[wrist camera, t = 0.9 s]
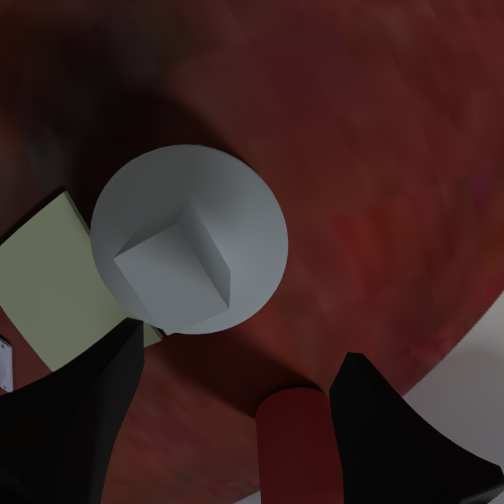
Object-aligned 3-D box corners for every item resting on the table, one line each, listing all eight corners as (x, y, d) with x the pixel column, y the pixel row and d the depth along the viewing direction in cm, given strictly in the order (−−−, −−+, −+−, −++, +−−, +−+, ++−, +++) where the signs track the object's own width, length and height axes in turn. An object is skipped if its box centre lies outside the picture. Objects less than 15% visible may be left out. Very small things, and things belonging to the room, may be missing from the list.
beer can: (261, 433, 27) (270, 546, 16) (248, 390, 24) (255, 526, 13) (330, 421, 27) (358, 531, 16) (329, 375, 24) (368, 505, 13)
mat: (61, 375, 24) (59, 378, 23) (-20, 266, 19) (-23, 268, 19) (163, 336, 22) (161, 340, 21) (66, 190, 18) (63, 192, 17)
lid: (160, 347, 19) (146, 398, 15) (65, 207, 15) (21, 234, 11) (314, 282, 17) (335, 328, 13) (229, 107, 14) (225, 99, 10)
